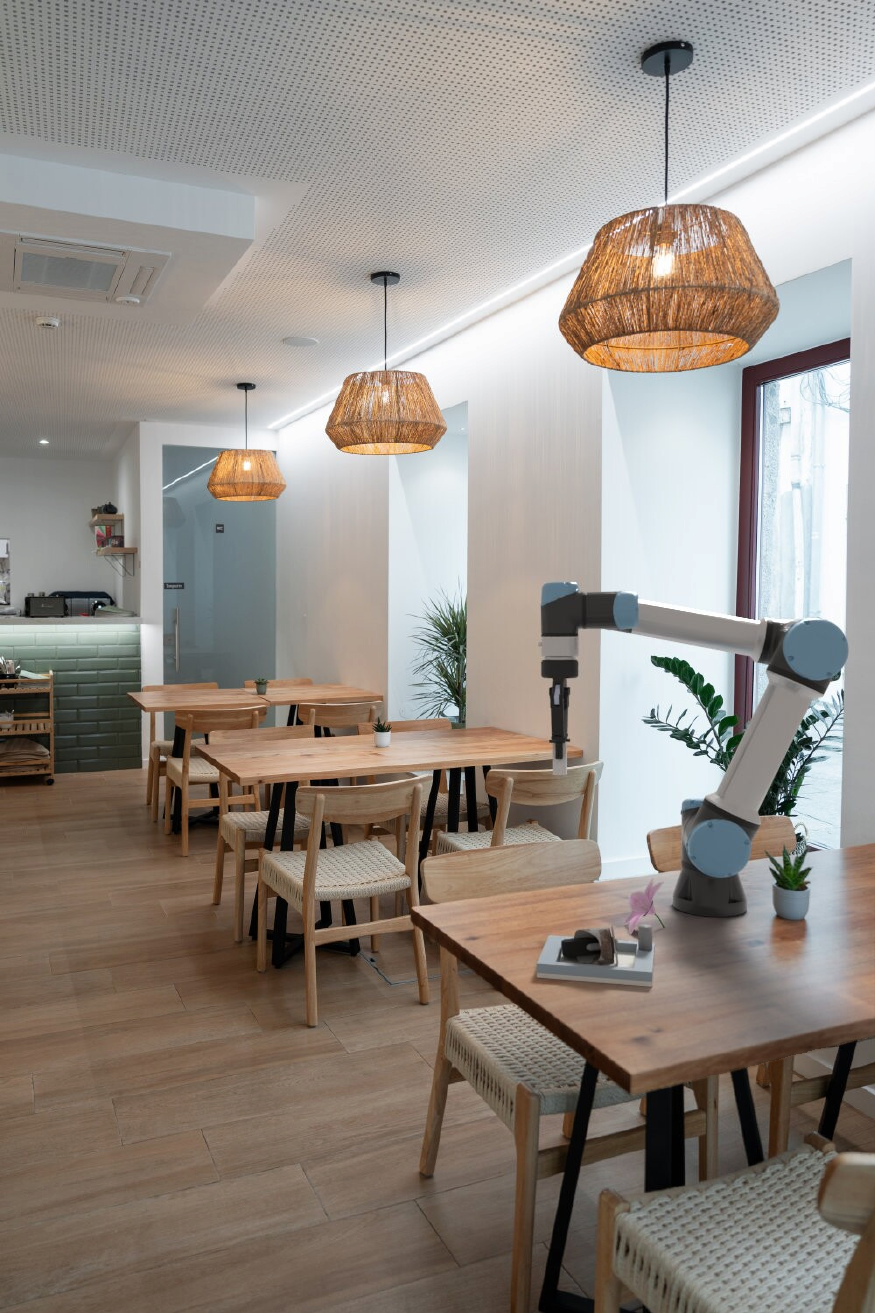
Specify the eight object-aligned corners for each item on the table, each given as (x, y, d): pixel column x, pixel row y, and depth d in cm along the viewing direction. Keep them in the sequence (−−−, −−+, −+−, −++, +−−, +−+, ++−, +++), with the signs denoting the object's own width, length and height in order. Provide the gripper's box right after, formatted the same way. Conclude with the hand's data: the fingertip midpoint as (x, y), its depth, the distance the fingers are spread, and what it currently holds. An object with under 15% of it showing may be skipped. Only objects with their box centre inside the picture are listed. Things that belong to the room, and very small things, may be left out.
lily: (633, 921, 203) (612, 883, 201) (687, 905, 198) (666, 865, 196) (627, 957, 192) (605, 916, 190) (684, 940, 187) (662, 898, 186)
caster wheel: (566, 965, 178) (622, 960, 176) (561, 972, 167) (620, 967, 165) (561, 927, 179) (616, 921, 177) (555, 932, 168) (614, 925, 166)
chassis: (654, 956, 177) (654, 920, 177) (652, 987, 162) (652, 948, 162) (548, 948, 182) (549, 913, 182) (536, 977, 166) (536, 939, 166)
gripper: (545, 657, 207) (545, 769, 208) (537, 659, 194) (537, 778, 195) (581, 657, 205) (581, 770, 206) (575, 659, 193) (575, 779, 193)
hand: (559, 774), depth 200 cm, fingers closed
